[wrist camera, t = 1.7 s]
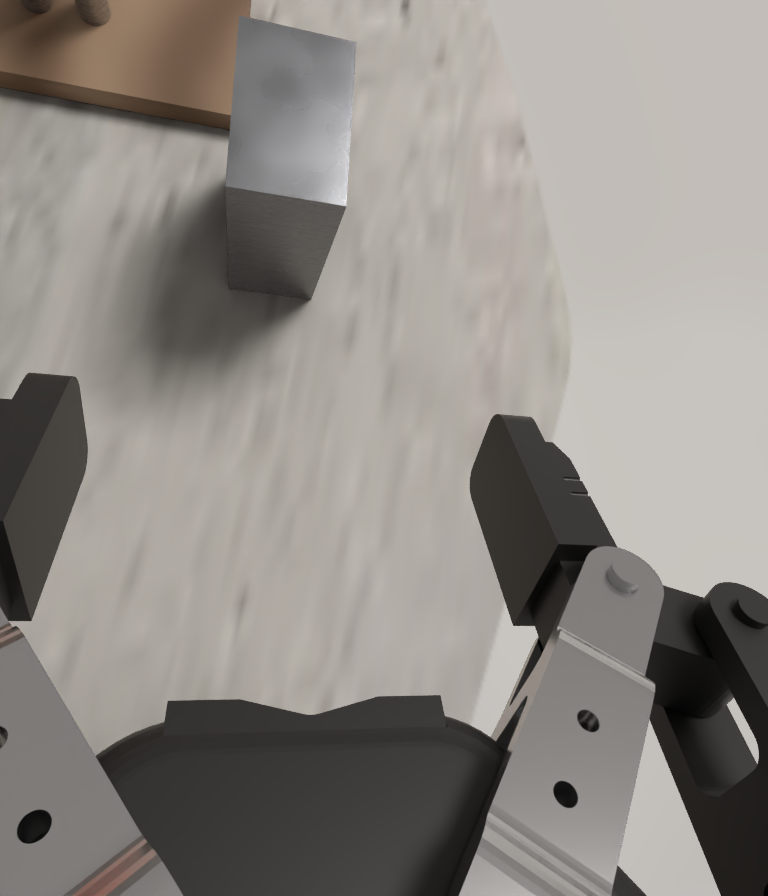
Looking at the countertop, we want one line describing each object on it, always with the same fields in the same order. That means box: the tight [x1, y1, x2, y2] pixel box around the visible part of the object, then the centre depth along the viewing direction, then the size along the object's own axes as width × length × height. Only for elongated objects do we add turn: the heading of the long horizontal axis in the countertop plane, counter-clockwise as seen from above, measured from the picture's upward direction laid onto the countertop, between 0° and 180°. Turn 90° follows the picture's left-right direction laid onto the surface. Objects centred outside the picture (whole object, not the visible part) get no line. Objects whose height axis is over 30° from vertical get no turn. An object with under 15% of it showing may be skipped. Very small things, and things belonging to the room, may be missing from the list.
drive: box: [225, 15, 356, 299], centre depth 26 cm, size 4×6×10 cm, turn 177°
